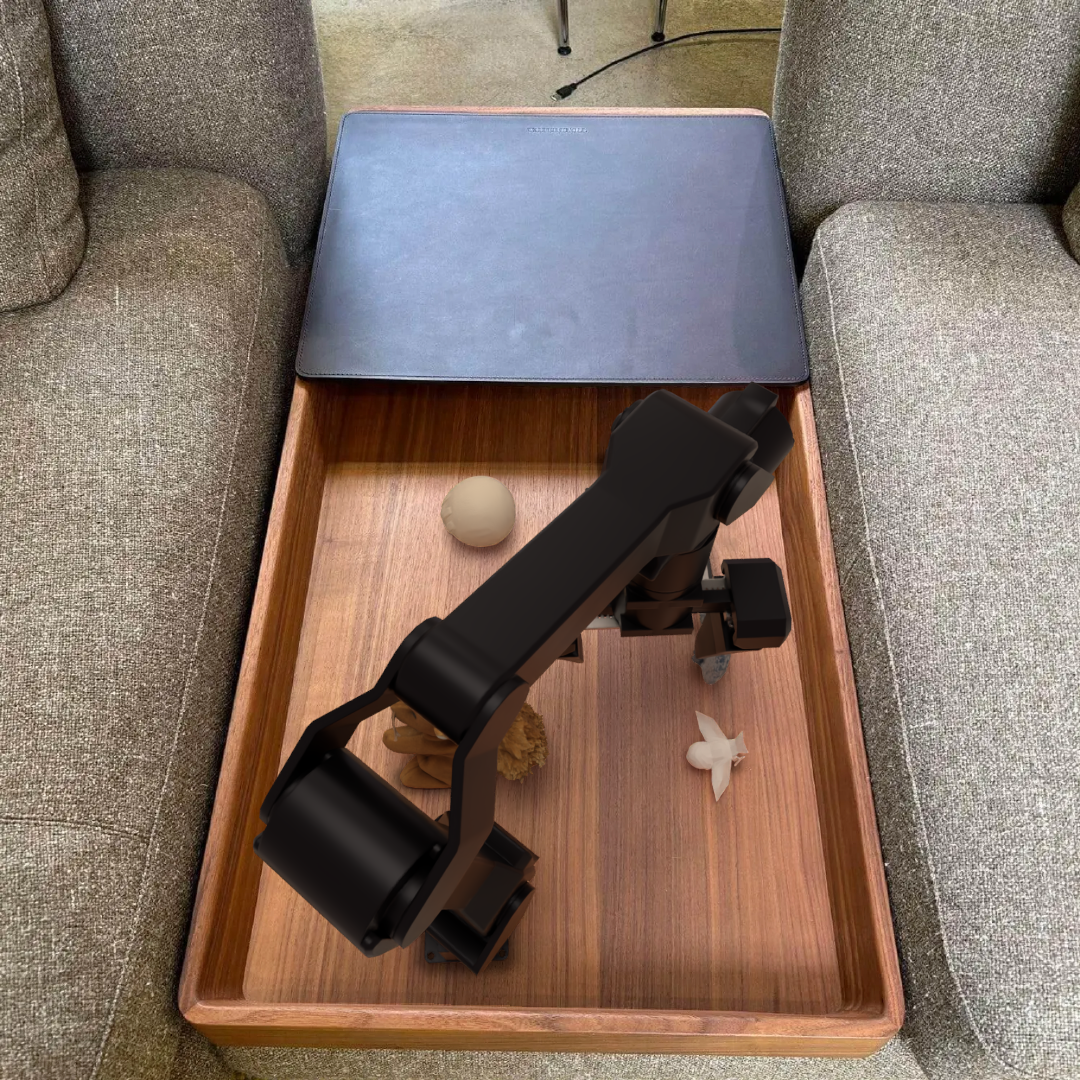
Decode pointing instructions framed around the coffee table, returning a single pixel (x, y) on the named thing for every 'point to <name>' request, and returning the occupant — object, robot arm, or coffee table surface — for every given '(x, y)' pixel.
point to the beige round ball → (479, 511)
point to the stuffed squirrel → (437, 751)
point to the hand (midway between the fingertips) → (638, 655)
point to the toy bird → (715, 752)
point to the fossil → (712, 664)
